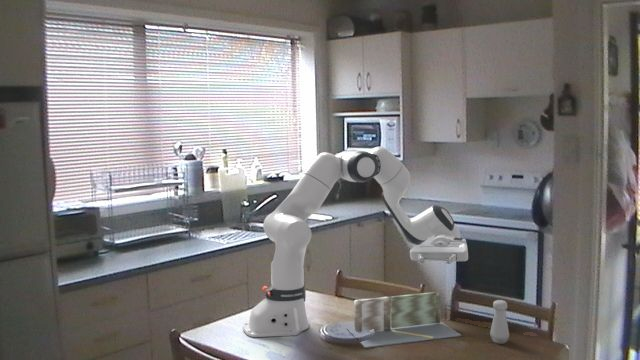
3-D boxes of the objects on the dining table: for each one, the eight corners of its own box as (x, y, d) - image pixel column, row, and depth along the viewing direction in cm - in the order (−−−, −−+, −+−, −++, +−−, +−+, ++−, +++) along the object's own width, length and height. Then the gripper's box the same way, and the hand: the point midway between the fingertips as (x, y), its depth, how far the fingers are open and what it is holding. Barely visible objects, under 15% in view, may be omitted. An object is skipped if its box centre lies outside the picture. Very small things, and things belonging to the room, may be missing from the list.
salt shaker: (499, 345, 189) (499, 304, 188) (486, 340, 194) (486, 300, 193) (513, 342, 192) (513, 302, 191) (499, 336, 197) (500, 297, 196)
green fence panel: (392, 328, 203) (392, 297, 202) (390, 326, 205) (390, 296, 204) (441, 322, 208) (441, 292, 207) (438, 321, 210) (438, 291, 209)
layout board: (365, 348, 189) (365, 346, 189) (346, 329, 206) (346, 327, 206) (461, 336, 198) (461, 334, 198) (435, 319, 215) (435, 317, 215)
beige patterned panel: (356, 335, 199) (355, 301, 198) (353, 332, 202) (353, 299, 201) (391, 330, 203) (391, 298, 202) (388, 328, 205) (388, 296, 204)
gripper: (413, 238, 225) (404, 252, 213) (470, 239, 217) (463, 253, 204) (415, 255, 226) (405, 269, 214) (471, 255, 218) (465, 270, 206)
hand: (434, 261), depth 209 cm, fingers open, 8 cm apart
